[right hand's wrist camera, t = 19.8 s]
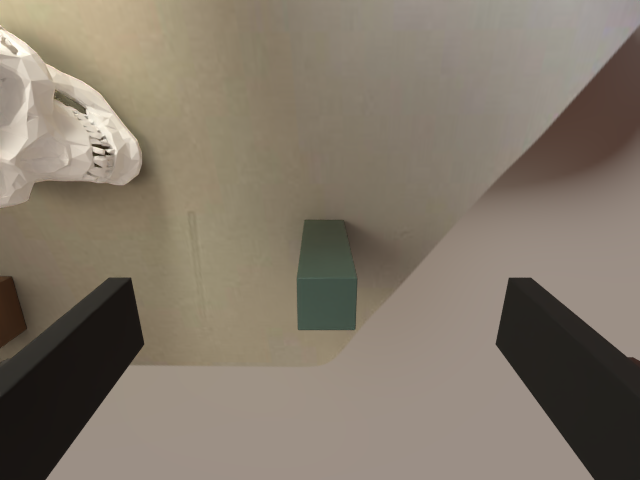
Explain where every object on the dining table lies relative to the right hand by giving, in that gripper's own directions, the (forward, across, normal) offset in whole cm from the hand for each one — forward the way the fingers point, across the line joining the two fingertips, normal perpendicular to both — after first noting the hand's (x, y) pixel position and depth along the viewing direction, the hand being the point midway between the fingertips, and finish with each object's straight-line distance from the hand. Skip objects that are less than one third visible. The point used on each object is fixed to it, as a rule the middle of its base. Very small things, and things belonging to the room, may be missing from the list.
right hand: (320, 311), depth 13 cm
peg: (+24, 0, -6) cm, 25 cm away
